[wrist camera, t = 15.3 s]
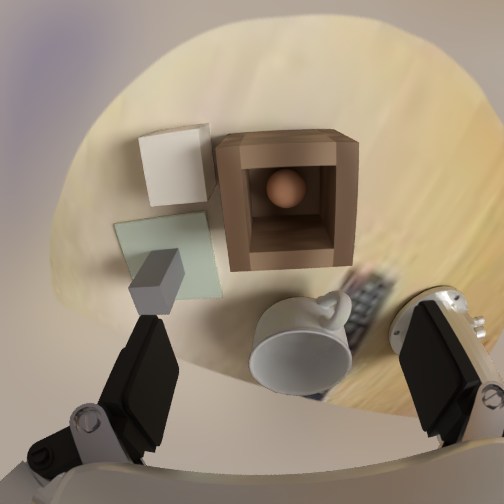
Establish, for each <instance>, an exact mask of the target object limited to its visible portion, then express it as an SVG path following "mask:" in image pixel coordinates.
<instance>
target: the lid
mask: <svg viewBox="0 0 504 504" xmlns="http://www.w3.org/2000/svg"><path fill="white" fill-rule="evenodd" d="M114 226H115V230H116V233H117V236H118V239H119V242H120V245H121V248H122V251H123V254H124V257H125V260H126V263H127V266H128V269H129V271H130V274H131V277H132V280H133V281H132V282H131V284H130V286H129V287H128V289H129V292H130V294H131V297H132V299H133V302H134V304H135V307H136V309H137V311H138V314H139V315H166V314H170V311H171V309H172V306H173V303H174V301H175V300H189V299H207V298H223V293H222V288H221V284H220V279H219V274H218V270H217V265H216V260H215V255H214V250H213V245H212V241H211V236H210V231H209V226H208V221H207V215H206V211H200V212H192V213H184V214H176V215H168V216H161V217H154V218H147V219H140V220H133V221H126V222H119V223H115V224H114Z"/></svg>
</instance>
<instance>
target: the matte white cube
mask: <svg viewBox="0 0 504 504" xmlns="http://www.w3.org/2000/svg"><path fill="white" fill-rule="evenodd" d="M138 139H139V146H140V152H141V158H142V164H143V169H144V175H145V181H146V186H147V191H148V196H149V201H150V206H151V207H153V206H163V205H173V204H184V203H195V202H207V201H208V199H209V197H210V195H211V193H212V191H213V190H214V188H215V186H216V179H215V171H214V162H213V153H212V144H211V136H210V126H209V123H206V124H198V125H191V126H183V127H177V128H170V129H164V130H158V131H155V132H153V133H150V134H147V135H145V136H142V137H140V138H138Z"/></svg>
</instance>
